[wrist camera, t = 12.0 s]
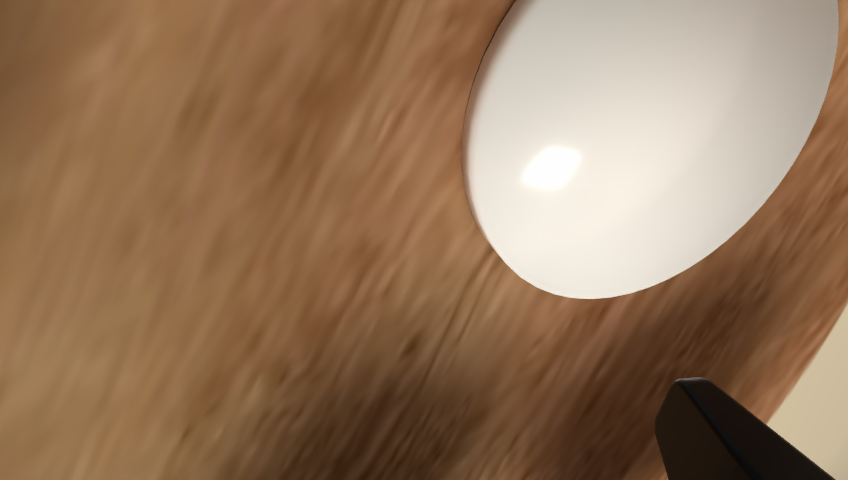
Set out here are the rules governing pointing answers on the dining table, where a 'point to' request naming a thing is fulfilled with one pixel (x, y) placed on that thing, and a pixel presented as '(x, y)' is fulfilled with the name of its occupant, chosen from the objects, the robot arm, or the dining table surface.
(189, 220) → the dining table surface
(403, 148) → the dining table surface
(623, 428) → the dining table surface
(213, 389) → the dining table surface
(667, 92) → the cream saucer
